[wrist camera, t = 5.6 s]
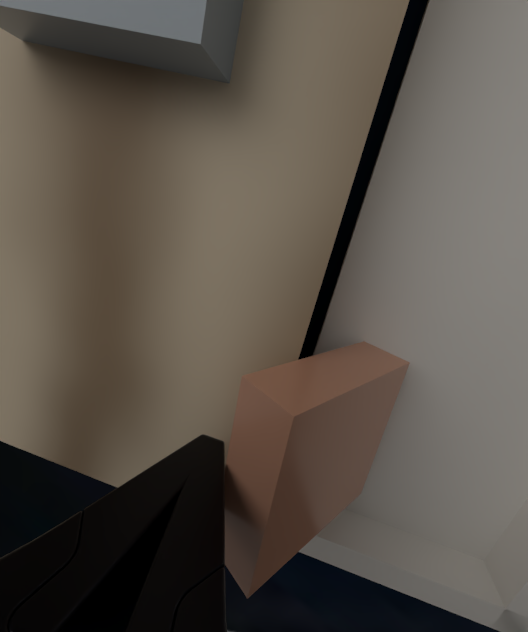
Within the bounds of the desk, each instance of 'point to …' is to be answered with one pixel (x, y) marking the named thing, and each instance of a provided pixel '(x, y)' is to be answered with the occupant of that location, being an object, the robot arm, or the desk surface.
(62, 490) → the desk surface
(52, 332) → the birch plate
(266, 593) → the desk surface
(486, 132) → the tray
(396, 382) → the terracotta tile
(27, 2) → the slate grey block
